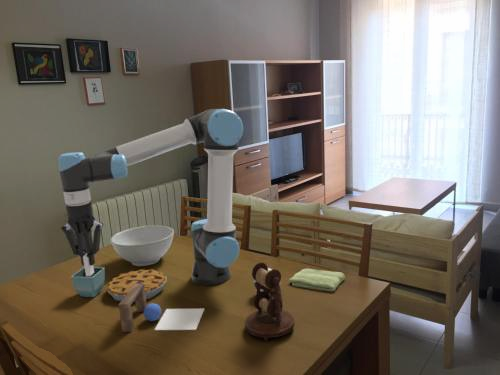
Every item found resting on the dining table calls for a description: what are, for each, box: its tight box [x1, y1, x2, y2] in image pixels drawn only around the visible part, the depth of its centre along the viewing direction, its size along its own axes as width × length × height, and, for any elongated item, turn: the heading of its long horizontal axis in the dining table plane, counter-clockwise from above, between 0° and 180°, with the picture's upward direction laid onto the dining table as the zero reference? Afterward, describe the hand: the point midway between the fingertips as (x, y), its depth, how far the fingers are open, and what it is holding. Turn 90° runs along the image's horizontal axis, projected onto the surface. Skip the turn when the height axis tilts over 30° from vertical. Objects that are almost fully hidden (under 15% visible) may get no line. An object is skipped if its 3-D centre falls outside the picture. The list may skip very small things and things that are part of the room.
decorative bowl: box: [110, 224, 175, 267], centre depth 192 cm, size 27×27×12 cm
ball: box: [143, 302, 162, 322], centre depth 140 cm, size 6×6×6 cm
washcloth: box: [288, 268, 346, 293], centre depth 160 cm, size 13×18×3 cm
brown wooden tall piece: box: [244, 262, 295, 342], centre depth 129 cm, size 15×15×20 cm
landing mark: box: [154, 308, 205, 331], centre depth 140 cm, size 13×13×1 cm
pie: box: [106, 268, 168, 302], centre depth 164 cm, size 22×22×5 cm
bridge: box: [118, 284, 148, 333], centre depth 141 cm, size 3×14×9 cm, turn 174°
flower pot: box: [71, 266, 106, 298], centre depth 162 cm, size 9×9×9 cm
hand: (90, 274), depth 140 cm, fingers closed
